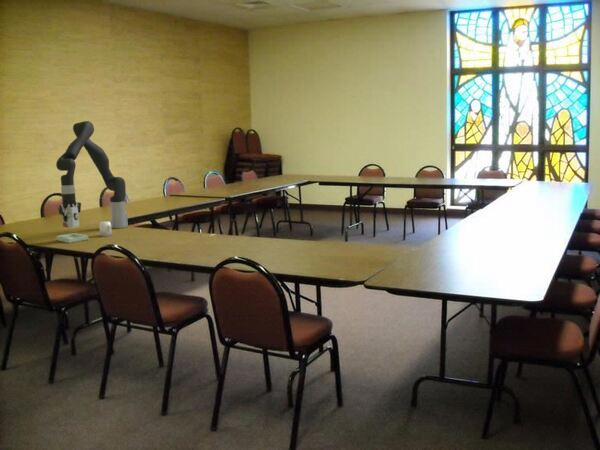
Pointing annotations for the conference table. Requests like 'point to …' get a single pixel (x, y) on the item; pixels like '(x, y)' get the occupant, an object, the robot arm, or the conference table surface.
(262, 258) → the conference table surface
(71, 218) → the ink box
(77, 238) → the tray
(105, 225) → the mug
